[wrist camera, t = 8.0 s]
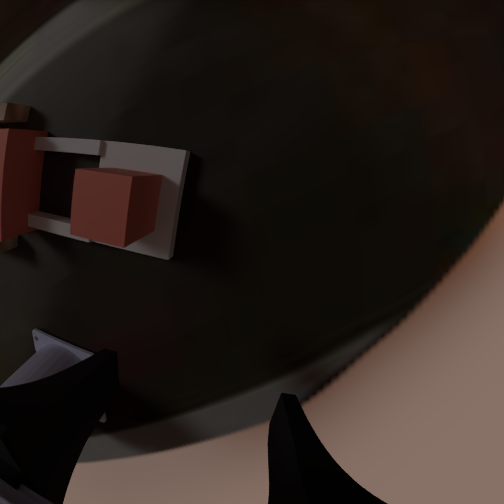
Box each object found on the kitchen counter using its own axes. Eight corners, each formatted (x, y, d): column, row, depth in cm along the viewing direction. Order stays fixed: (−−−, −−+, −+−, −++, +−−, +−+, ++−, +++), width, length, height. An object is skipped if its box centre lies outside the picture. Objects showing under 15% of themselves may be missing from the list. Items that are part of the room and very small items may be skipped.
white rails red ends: (172, 262, 20) (141, 292, 15) (28, 225, 20) (-16, 240, 15) (191, 144, 18) (163, 134, 13) (37, 131, 18) (-10, 128, 13)
